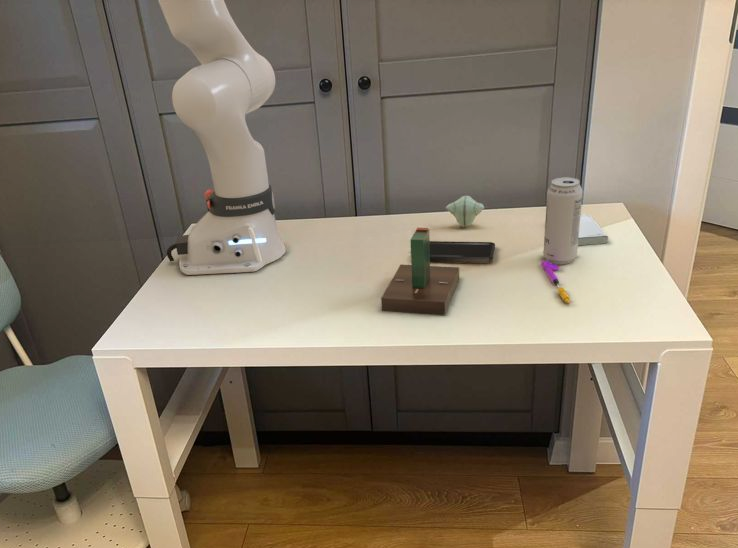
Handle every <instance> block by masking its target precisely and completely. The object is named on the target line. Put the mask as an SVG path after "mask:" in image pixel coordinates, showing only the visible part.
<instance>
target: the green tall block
mask: <svg viewBox="0 0 738 548" xmlns="http://www.w3.org/2000/svg"><path fill="white" fill-rule="evenodd" d="M409 241H410V242H409V243H410V265H411V270H412V287H413V288H425V286H426V284H427V282H428V280H429V278H430V266H431V262H430V241H431V240H430V228H428V227H417V228H416V229H415V231H414V233H413V234H412V236H411V238H410V240H409Z"/></svg>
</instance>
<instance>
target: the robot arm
mask: <svg viewBox="0 0 738 548" xmlns="http://www.w3.org/2000/svg"><path fill="white" fill-rule="evenodd" d="M157 2H158V4H159V6H160V9H161V12H162V15H163V16H164V19H165V22H166V24H167V26H168V29H169V31H170V34H171V35H172V37H173V38H174V39H175V40H176V41H177V42H178V43H181V44H182V45H184V46H185V47H187V48H188V49H189V50H190V51H191V52H192V54H193V55H194V56H195V57H196V58H197V60H198V61H199V63H200V65H197V66H194V67H193V68H191V69H190V70H188V71H187V72H186V73H184V74H183V75H182V76H181V77H180V78H179V79H178V80H176V82H175V84H173V85H174V86H173V88H172V91H171V102H172V107H173V110H174V112H175V114H176V115H177V117H178V119H179V120H180V121H181V122H182V123H183V124H184V125H185V126H186V127H188V128H190V130H192V131H193V132H194V133H195V134H196V136H197V137H198V139H199V140H200V143H201V145H202V147H203V149H204V151H205V154H206V157H207V160H208V165H209V170H210V174H211V181H212V184H213V189H207V190H206V191H205V193H204V199H205V203H206V208H207V209H206V210H207V212H206V213H205V214H204V215H203V216H202V217H201V218H200V219H199V220H198V221H197V222H196V223H195V224H194V225H193V226H192V227H191V229H190V230H189V233H188V234H183V235H177V238H176V240H175V243H174V244H171V245H170V246H169V247H168V248H167V249H166V257H167V258H168V261H169V263H171V262H172V263H173V262H174V261H175V258H174V256H173V255H172V251H174V250H175V249H176V255H177V256H179V259H178V263H179V264H178V265H179V270H180V271H181V273H183V274H184V275H187V276H195V275H197V276H199V275H213V274H215V275H217V274H234V273H235V274H236V273H254V272H257V271H259V270H260V269H262V268H263V267H264V266H266V265H268V264H271V263H272V262H275V261H277V260H278V259H280V258H282V257H283V256H284V255H285V253H286V251H287V248H286V246H285V244H284V242H283V239H282V236H281V234H280V231H279V228H278V227H279V226H278V224H277V220H276V216H275V212H276V210H275V209H276V205H275V199H274V191H273V189H272V185H271V184H270V182H269V174H268V167H267V161H266V153H265V149H264V147H263V146H262V144H261V143H260V142H258V141H257V140H255V139H254V138H253V136H252V134H251V132H250V130H249V127H248V125H247V121H246V115H249V114H250V113H252V112H254V111H256V110H258V109H259V108H261V107H262V106H263V105H264V104H265V103H266V102H267V100H269V99H270V97H271V96H272V95H273V93H274V91H275V88H276V75H275V71H274V68H273V66H272V65H271V63H270V62H269V60H267V59H266V58H265V57H264V56H263V55H261V54H260V53H258V52H257V51H256V50H255V49H254V48H253V47H252V46H251V45H250V44H249V42H248V40H247V39H246V37H245V36H244V35H243V33H242V32H241V30H240V29H239V28H238V26H237V24H236V22H235V20H234V19H233V17H232V16H231V14H230V11H229V10H228V7H227V4H226V2H225V0H157Z"/></svg>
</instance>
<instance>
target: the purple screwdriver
mask: <svg viewBox="0 0 738 548" xmlns="http://www.w3.org/2000/svg"><path fill="white" fill-rule="evenodd" d="M541 267H542V269H543V270H544V271H545V272H546V274H547V276H548V278H549V279H550V281H551V283H552V284H553V285H554V286H557V287H558V288H557V293H558V295H559V296H560V297H561V298H562V300H563V302H565V303H567V304H568V303H569V304H570V303H571V300H570V296H569V295H568V293H567V291H566V289H565V287H564V286H560V282H559V279H558V277H557V276H556V274H555V273H554V271H559V266H558V264H552V263H550V262H549V261H547V260H546V259H544V260H542V261H541Z"/></svg>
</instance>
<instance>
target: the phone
mask: <svg viewBox="0 0 738 548" xmlns="http://www.w3.org/2000/svg"><path fill="white" fill-rule="evenodd" d="M495 252H496V243H495V242H492V241H447V240H445V241H444V240H443V241H439V240H430V263H451V264H452V263H456V264H457V263H458V264H490V263H493V261H494V256H495Z"/></svg>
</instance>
